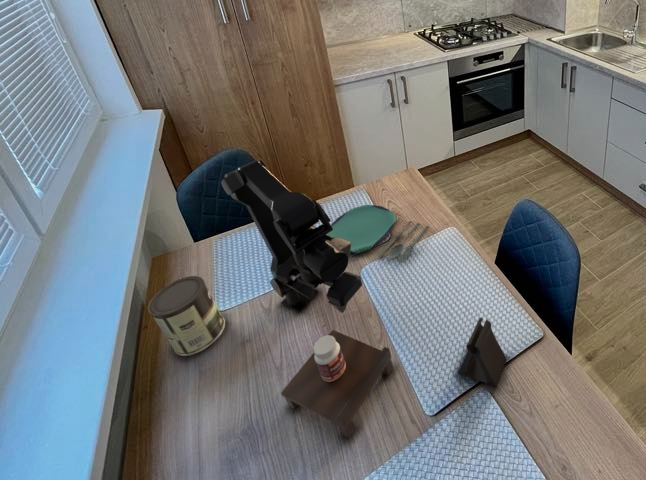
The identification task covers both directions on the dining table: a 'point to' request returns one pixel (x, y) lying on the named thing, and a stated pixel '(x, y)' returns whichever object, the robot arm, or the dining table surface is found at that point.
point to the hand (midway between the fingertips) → (327, 303)
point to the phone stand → (483, 356)
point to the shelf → (339, 383)
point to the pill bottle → (329, 358)
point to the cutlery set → (371, 230)
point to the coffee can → (187, 315)
